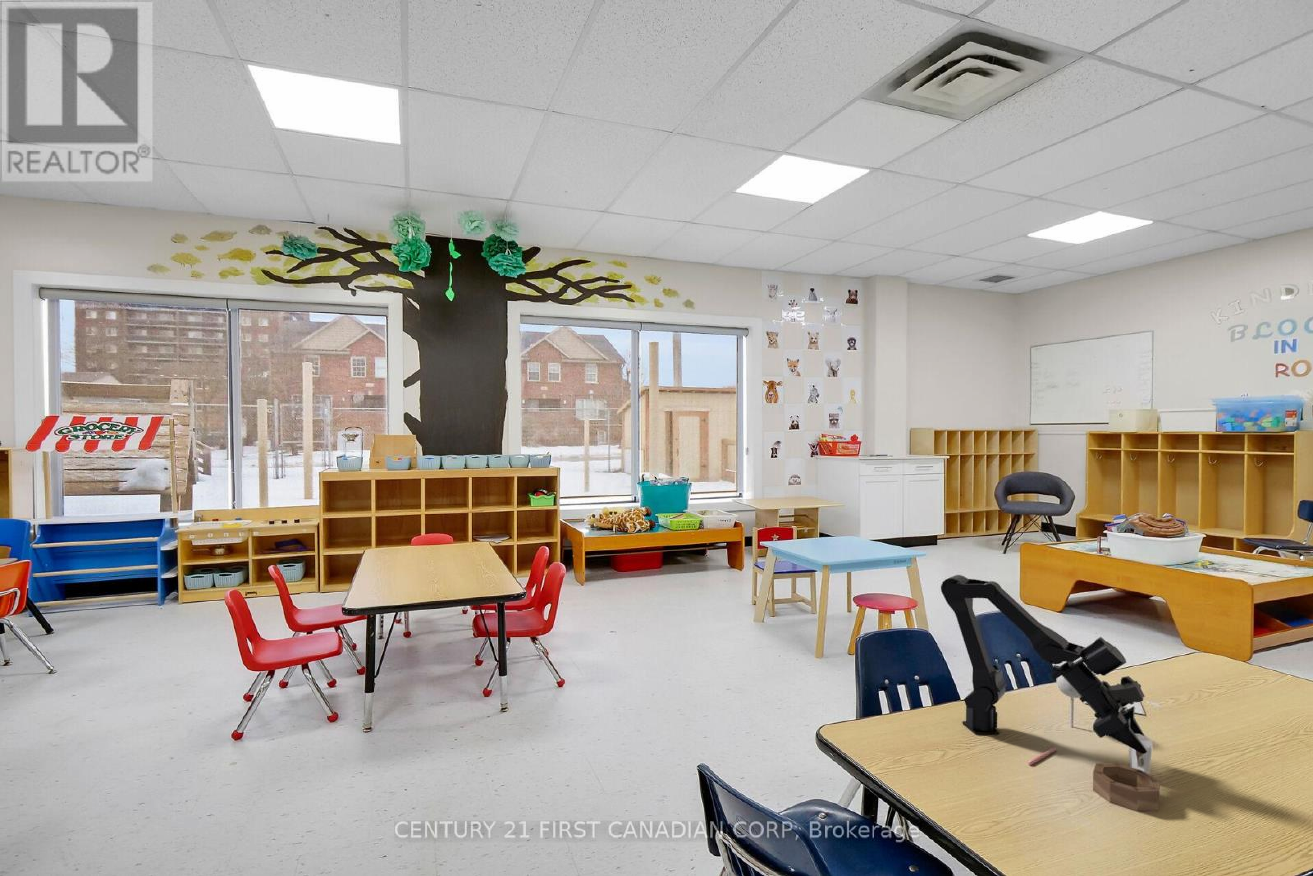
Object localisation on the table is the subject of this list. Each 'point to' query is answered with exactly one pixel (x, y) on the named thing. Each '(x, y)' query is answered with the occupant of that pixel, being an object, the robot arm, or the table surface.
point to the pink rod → (1042, 756)
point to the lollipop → (1068, 694)
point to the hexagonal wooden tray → (1126, 786)
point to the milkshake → (1141, 755)
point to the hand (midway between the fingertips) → (1146, 749)
